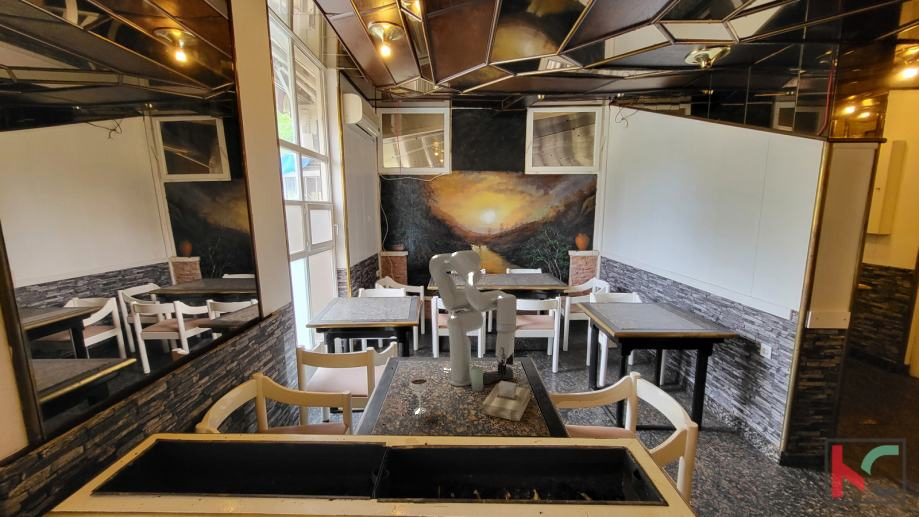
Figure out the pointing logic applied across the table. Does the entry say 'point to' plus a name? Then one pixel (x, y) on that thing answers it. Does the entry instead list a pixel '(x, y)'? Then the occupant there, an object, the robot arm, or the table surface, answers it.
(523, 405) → the socket block
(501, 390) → the block
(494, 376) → the flashlight
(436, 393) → the table surface
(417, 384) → the wineglass
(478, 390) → the round bit
